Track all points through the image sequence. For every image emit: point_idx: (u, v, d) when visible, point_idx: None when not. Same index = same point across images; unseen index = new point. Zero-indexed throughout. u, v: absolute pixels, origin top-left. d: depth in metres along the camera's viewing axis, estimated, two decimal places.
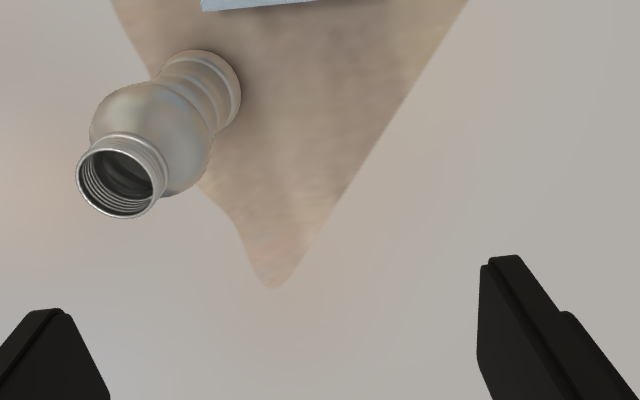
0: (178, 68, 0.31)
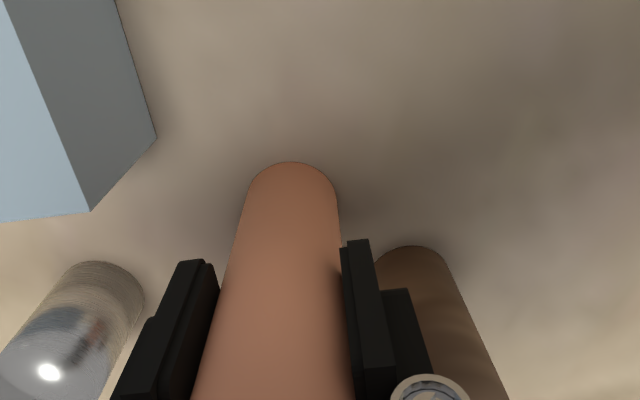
0: None
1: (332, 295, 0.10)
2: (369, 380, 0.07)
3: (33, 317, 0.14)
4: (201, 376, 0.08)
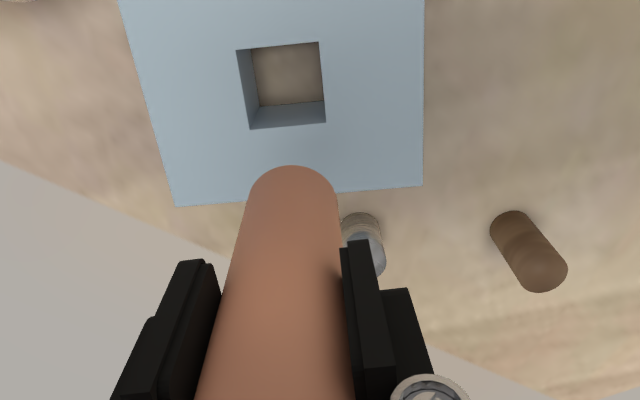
0: None
1: (333, 299, 0.10)
2: (369, 380, 0.07)
3: (353, 233, 0.32)
4: (204, 381, 0.08)
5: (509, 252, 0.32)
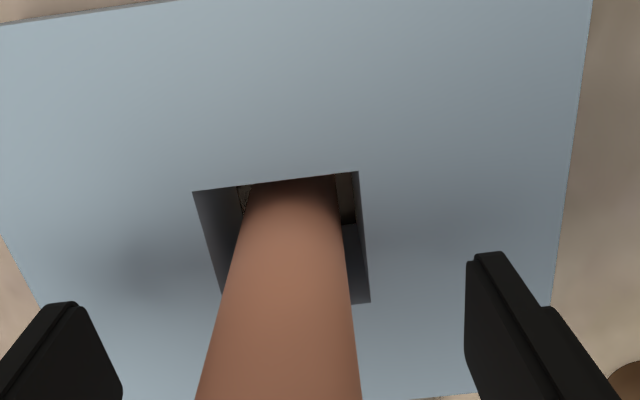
0: None
1: (330, 247, 0.11)
2: None
3: None
4: (224, 305, 0.10)
5: None
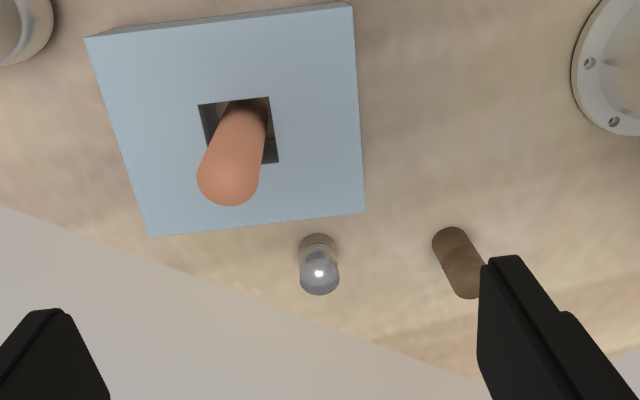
0: None
1: (255, 126, 0.28)
2: None
3: (310, 253, 0.37)
4: (212, 139, 0.26)
5: (446, 264, 0.37)
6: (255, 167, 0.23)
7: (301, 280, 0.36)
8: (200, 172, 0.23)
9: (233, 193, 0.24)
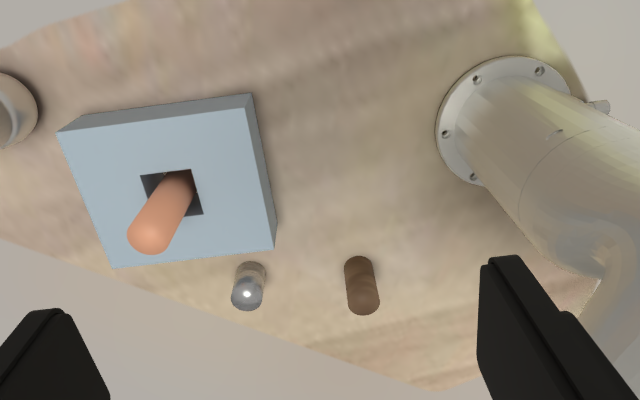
0: None
1: (180, 191, 0.38)
2: None
3: (240, 278, 0.47)
4: None
5: (346, 287, 0.47)
6: (167, 229, 0.34)
7: (232, 299, 0.46)
8: (129, 233, 0.34)
9: (153, 246, 0.34)
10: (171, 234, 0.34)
